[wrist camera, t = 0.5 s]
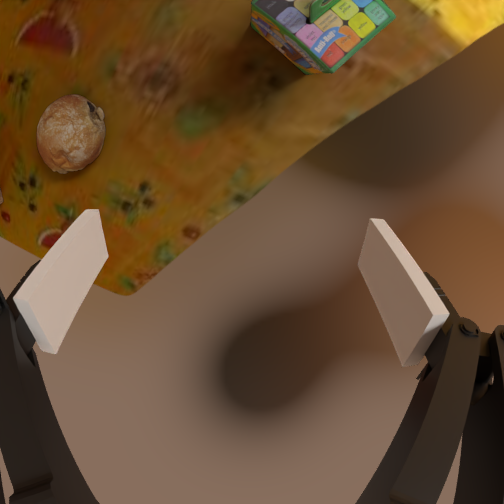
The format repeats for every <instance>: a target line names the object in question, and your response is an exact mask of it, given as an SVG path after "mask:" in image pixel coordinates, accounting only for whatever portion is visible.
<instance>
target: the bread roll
mask: <svg viewBox="0 0 504 504" xmlns="http://www.w3.org/2000/svg"><path fill="white" fill-rule="evenodd" d="M104 116H105V115H104V113H103V110H102V109H101V108H100V107H98V108H97V107H96V106H95V105H94V104H93V103H92V102H90V101H89V100H87V99H86V98H85V97H82V96H80V95H77V94H74V95H66V96H63V97H61V98H59V99H57V100H56V101H54V102H53V103H52V104H50V105H49V106H48V107H47V109H46V110H45V111H44V113H43V115H42V116H41V119H40V121H39V124H38V126H37V147H38V151H39V153H40V155H41V157H42V159H43V160H44V163H46V164H47V165H48V167H49V168H51V169H52V170H53V171H54V172H55V171H58V172H59V173H63V174H66V173H68V171H77V170H81V169H83V168H84V167H85V166H86V165H88V164H90V163H92V162H93V161H94V160H95V159H96V158H97V157H98V155H99V154H100V151H101V149H102V146H103V141H104V138H105V132H106V128H105V124H104V121H103V119H104Z"/></svg>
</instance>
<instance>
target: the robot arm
mask: <svg viewBox="0 0 504 504" xmlns="http://www.w3.org/2000/svg"><path fill="white" fill-rule="evenodd" d="M107 258H108V253H107V248H106V244H105V239H104V234H103V230H102V225H101V220H100V214H99V209H87V210H85V211H84V212H83V213H82V214H81V215H80V216H79V217H78V218H77V219H76V220H75V222H74V223H73V224H72V225H71V226H70V227H69V228H68V229H67V230H66V232H65V233H64V234H63V235H62V236H61V237H60V238H59V240H58V241H57V242H56V243H55V244H54V245H53V247H52V248H51V249H50V250H49V251H48V253H47V254H46V255H45V256H44V258H43V259H42V260H39V261H38V262H37V263H35V264H34V265H33V266H31V268H30V269H29V270H28V271H27V272H26V274H25V276H23V278H22V279H21V280H20V281H21V282H19V283H18V284H17V286H16V287H15V288H14V290H13V291H12V292H11V294H10V295H9V297H8V298H7V300H5V298H4V296H3V294H2V291H1V289H0V448H1V452H2V455H3V459H4V462H5V465H6V468H7V471H8V474H9V477H10V480H11V483H12V485H13V489H14V494H12V495H11V496H10V497H9V504H99V502H98V501H97V500H96V499H95V497H94V495H93V494H92V492H91V490H90V488H89V487H88V485H87V483H86V481H85V479H84V477H83V476H82V474H81V472H80V470H79V468H78V466H77V464H76V462H75V460H74V458H73V456H72V454H71V451H70V449H69V447H68V445H67V443H66V440H65V438H64V436H63V434H62V431H61V429H60V426H59V424H58V421H57V419H56V416H55V413H54V411H53V408H52V405H51V402H50V400H49V397H48V394H47V391H46V388H45V385H44V381H43V378H42V375H41V371H40V368H39V364H38V361H37V357H36V353H35V352H34V350H33V348H32V347H33V345H34V343H35V341H36V342H37V344H38V345H39V347H40V349H41V350H42V351H44V352H49V353H53V354H57V351H58V349H59V347H60V345H61V343H62V341H63V339H64V337H65V334H66V333H67V331H68V329H69V327H70V325H71V323H72V320H73V319H74V317H75V315H76V313H77V311H78V309H79V307H80V305H81V304H82V302H83V300H84V298H85V296H86V294H87V292H88V291H89V289H90V287H91V285H92V284H93V282H94V280H95V278H96V277H97V275H98V273H99V271H100V270H101V268H102V266H103V265H104V263H105V261H106V260H107ZM358 267H359V269H360V271H361V273H362V275H363V277H364V279H365V282H366V284H367V286H368V288H369V290H370V292H371V294H372V297H373V299H374V301H375V303H376V305H377V308H378V310H379V312H380V314H381V317H382V319H383V321H384V323H385V326H386V328H387V330H388V333H389V335H390V338H391V340H392V342H393V345H394V347H395V350H396V352H397V355H398V357H399V360H400V362H401V365H402V367H404V366H412V365H418V364H419V362H420V361H421V359H422V358H423V356H424V355H425V356H426V358H427V360H428V363H427V364H426V366H425V367H424V369H423V370H422V371H421V373H420V374H419V375H418V377H417V378H416V379H419V378H420V377H421V378H420V380H419V383H418V385H417V388H416V390H415V393H414V395H413V398H412V400H411V402H410V405H409V407H408V409H407V411H406V414H405V416H404V418H403V420H402V422H401V424H400V427H399V429H398V431H397V433H396V435H395V437H394V439H393V441H392V443H391V445H390V446H389V448H388V450H387V452H386V454H385V456H384V458H383V459H382V461H381V463H380V465H379V467H378V468H377V470H376V472H375V473H374V475H373V477H372V479H371V480H370V482H369V483H368V485H367V487H366V488H365V490H364V491H363V493H362V494H361V496H360V498H359V499H358V501H357V502H356V503H355V504H436V502H437V500H438V498H439V496H440V493H441V491H442V489H443V486H444V484H445V481H446V479H447V477H448V474H449V471H450V469H451V466H452V463H453V460H454V458H455V455H456V452H457V449H458V445H459V442H460V439H461V436H462V447H461V457H460V466H459V474H458V481H457V487H456V493H455V498H454V503H453V504H504V325H499V326H497V327H496V328H495V330H494V331H493V333H492V334H489V333H484V332H480V329H479V327H478V326H477V325H476V324H475V323H474V322H473V321H471V320H470V319H467V318H464V317H463V318H462V317H460V316H459V315H458V313H457V312H456V310H455V308H454V307H453V305H452V304H451V302H450V301H449V299H448V298H447V296H445V293H444V292H443V290H442V289H441V287H440V286H439V284H438V283H437V281H436V280H435V279H434V278H433V277H431V276H430V275H429V274H428V273H427V272H422V271H421V269H420V268H419V266H418V265H417V263H416V262H415V261H414V259H413V258H412V256H411V255H410V254H409V252H408V251H407V250H406V248H405V247H404V245H403V244H402V243H401V241H400V240H399V239H398V238H397V236H396V235H395V233H394V232H393V231H392V230H391V228H390V227H389V226H388V224H387V223H386V222H385V221H384V219H371V218H370V221H369V225H368V228H367V232H366V236H365V240H364V243H363V247H362V251H361V254H360V258H359V261H358ZM493 376H494V381H493V384H492V377H493ZM462 432H463V434H462ZM0 504H5V499H4V493H3V487H2V481H1V472H0Z"/></svg>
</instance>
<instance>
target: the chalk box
mask: <svg viewBox="0 0 504 504" xmlns="http://www.w3.org/2000/svg"><path fill="white" fill-rule="evenodd" d="M251 4H252V5H251V24H250V25H251V27H252V28H253V29H254V30H255V31H256V32H258V33H259V34H260V35H261V36H263V37H264V38H265V39H266V40H267V41H268V42H269V43H271V44H272V45H273V46H274V47H275V48H276V49H277V50H279V51H280V52H281V53H282V54H283V55H284V56H285V57H286V58H288V59H289V60H290V61H291V62H292V63H293V64H294V65H295V66H296V67H298V68H299V69H300V70H301V71H302V72H303V73H304V74H306V75H309V74H321V73H334V72H335V71H336V70H337V69H338V68H339V67H341V66H342V65H343V64H344V63H345V62H346V61H347V60H348V59H349V58H350V57H352V56H353V55H354V54H355V53H356V52H357V51H358V50H359V49H360V48H362V47H363V46H364V45H365V44H366V43H367V42H369V41H370V40H371V39H372V38H373V37H374V36H375V35H377V34H378V33H379V32H380V31H381V30H382V29H384V28H385V27H386V26H387V25H388V24H390V23H391V22H392V21H393V20H394V19H395V18H396V15H395V14H394V13H393V11H392V10H391V9H390V8H389V7H388V5H387V4H386V3H385V2H384V1H383V0H252V2H251Z"/></svg>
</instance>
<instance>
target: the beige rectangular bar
mask: <svg viewBox="0 0 504 504" xmlns="http://www.w3.org/2000/svg"><path fill="white" fill-rule="evenodd" d="M2 202H3V197H2V193H1V189H0V204H1V203H2Z"/></svg>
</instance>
